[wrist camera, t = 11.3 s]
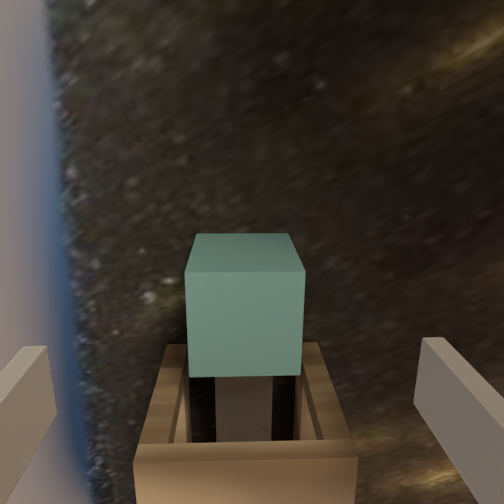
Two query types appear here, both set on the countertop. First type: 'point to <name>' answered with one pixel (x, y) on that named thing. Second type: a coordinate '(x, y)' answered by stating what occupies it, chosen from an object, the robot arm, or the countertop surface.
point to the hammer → (243, 408)
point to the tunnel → (246, 447)
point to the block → (244, 305)
